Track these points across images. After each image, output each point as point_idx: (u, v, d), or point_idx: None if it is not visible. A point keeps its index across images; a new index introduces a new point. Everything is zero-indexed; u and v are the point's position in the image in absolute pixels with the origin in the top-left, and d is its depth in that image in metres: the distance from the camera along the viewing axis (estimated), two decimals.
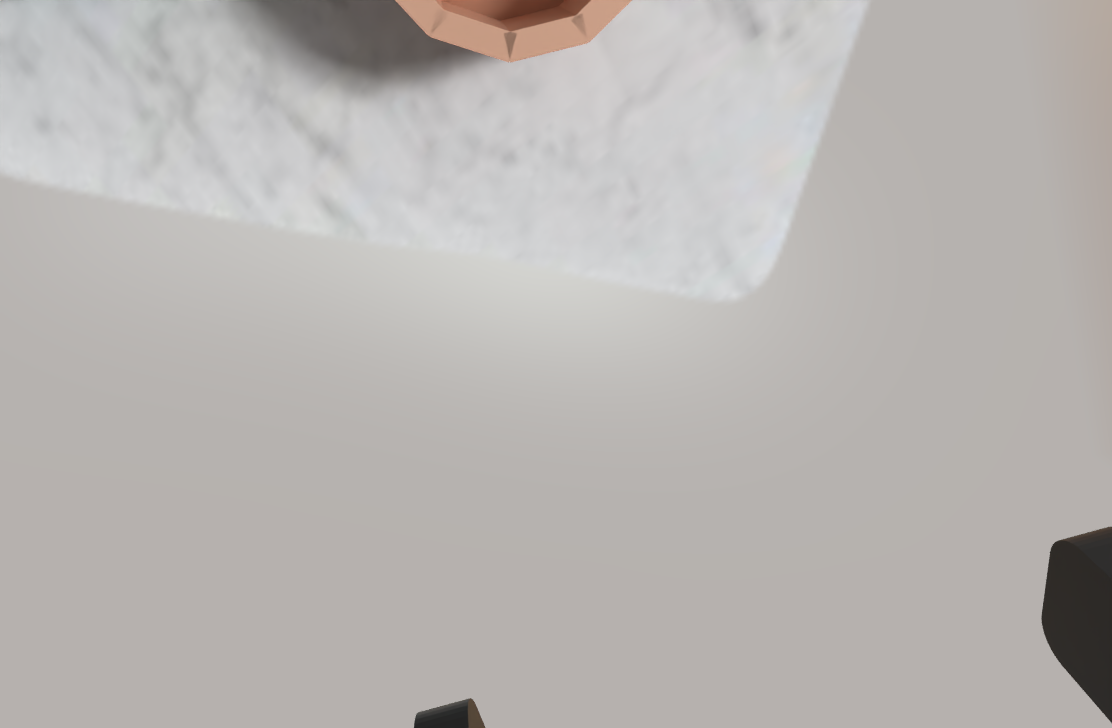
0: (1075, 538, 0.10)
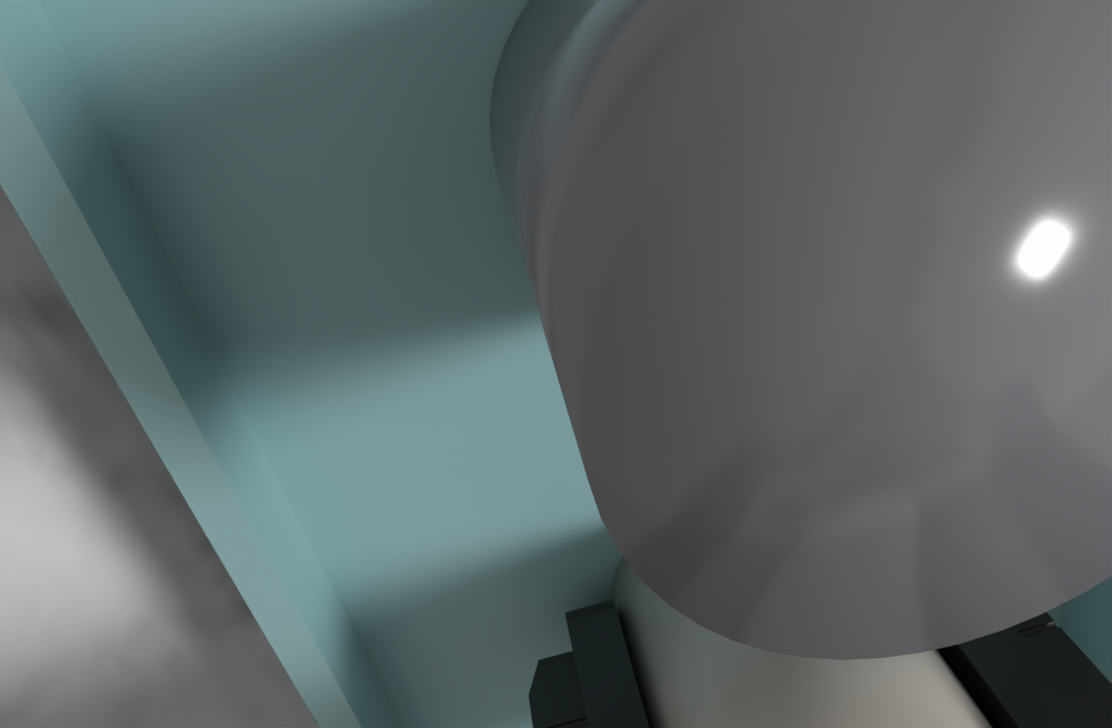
0: None
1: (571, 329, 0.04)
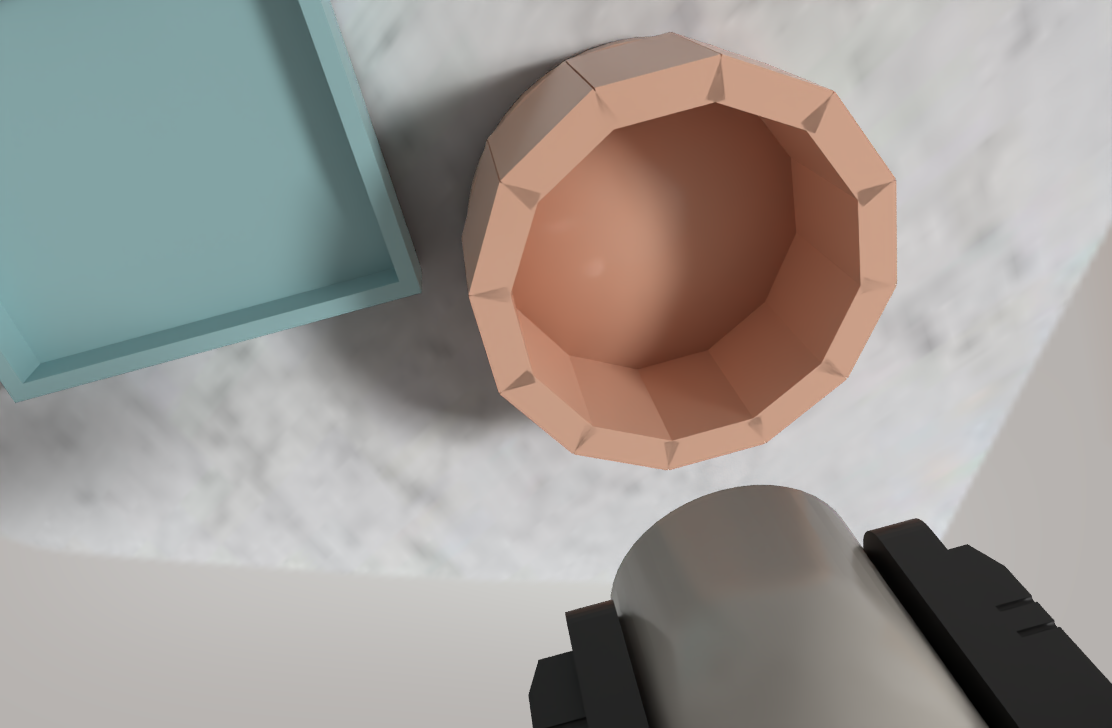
0: (879, 529, 0.11)
1: None
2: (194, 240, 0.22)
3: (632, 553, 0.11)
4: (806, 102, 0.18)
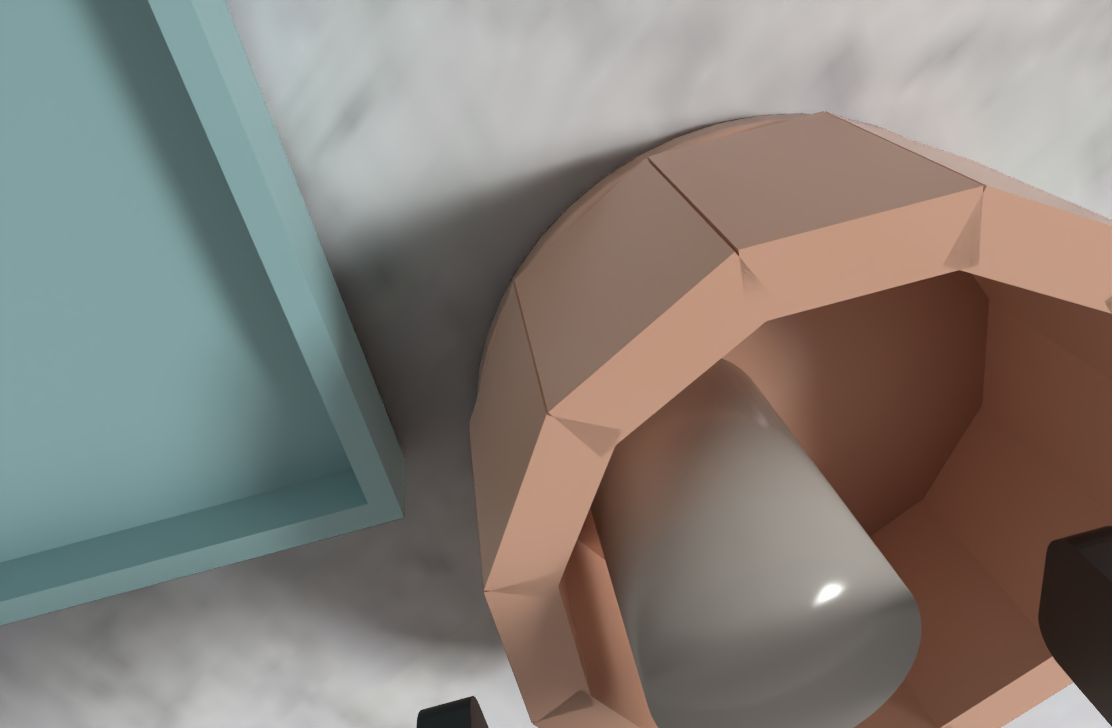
0: (1071, 538, 0.10)
1: None
2: (34, 436, 0.14)
3: None
4: None
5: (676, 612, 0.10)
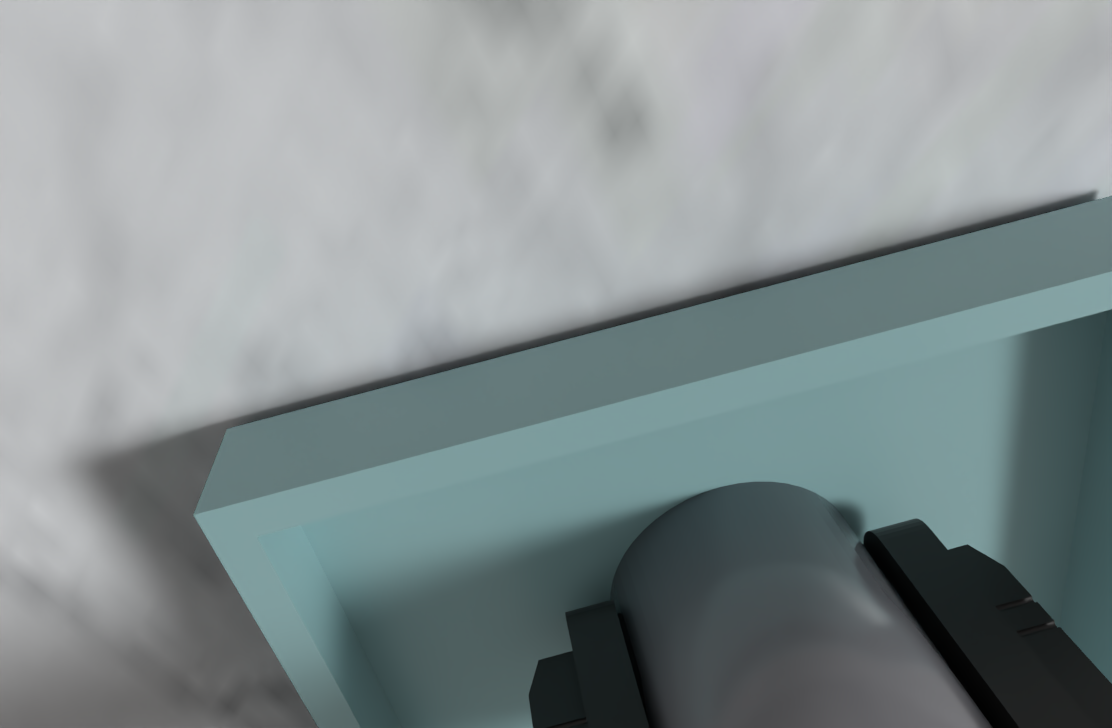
0: (879, 529, 0.11)
1: None
2: None
3: None
4: None
5: None
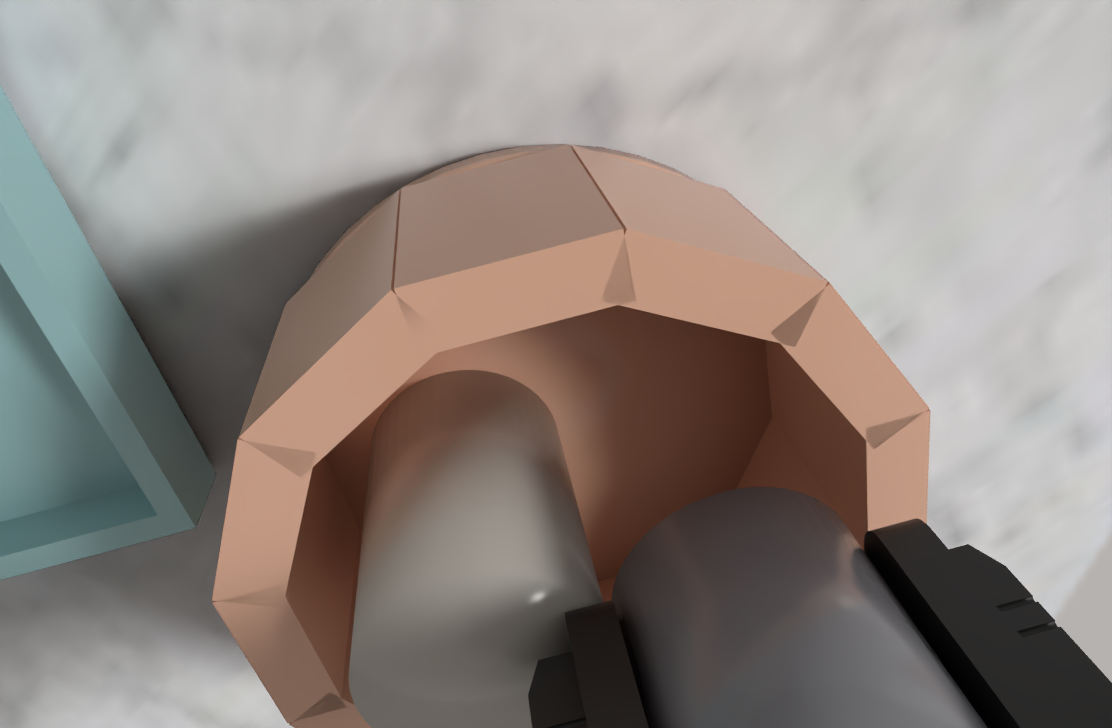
0: (880, 529, 0.11)
1: None
2: None
3: (381, 416, 0.15)
4: (780, 301, 0.11)
5: (371, 619, 0.11)
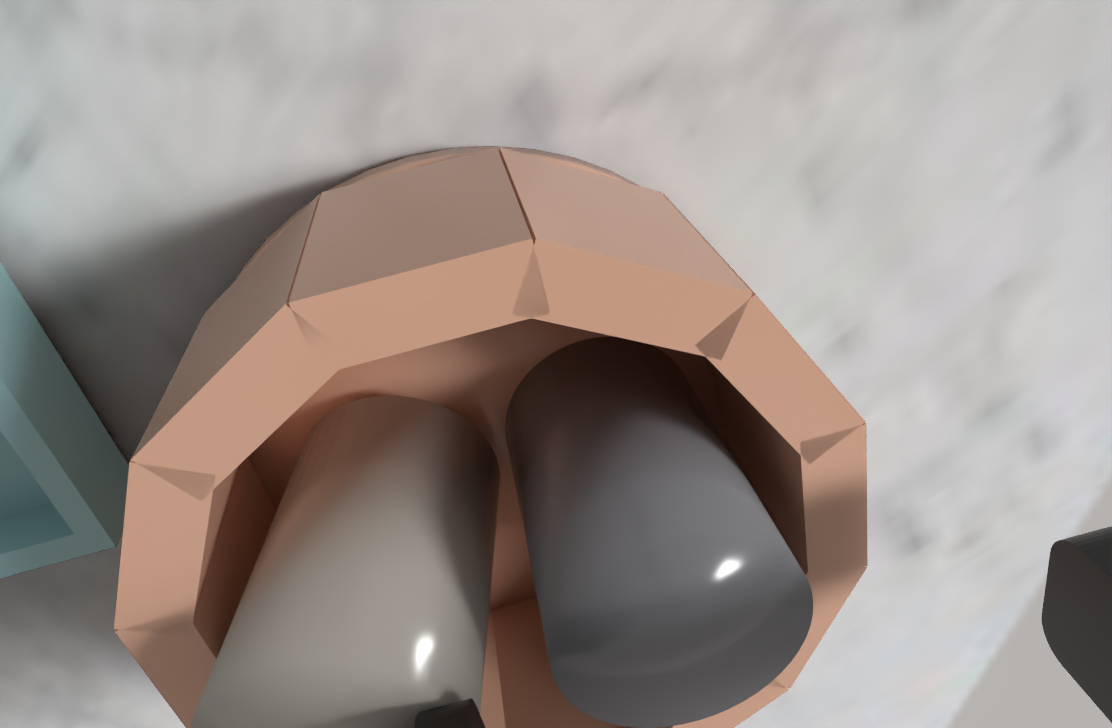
0: (1075, 538, 0.10)
1: (547, 627, 0.11)
2: None
3: (308, 434, 0.15)
4: (703, 312, 0.10)
5: (208, 691, 0.10)
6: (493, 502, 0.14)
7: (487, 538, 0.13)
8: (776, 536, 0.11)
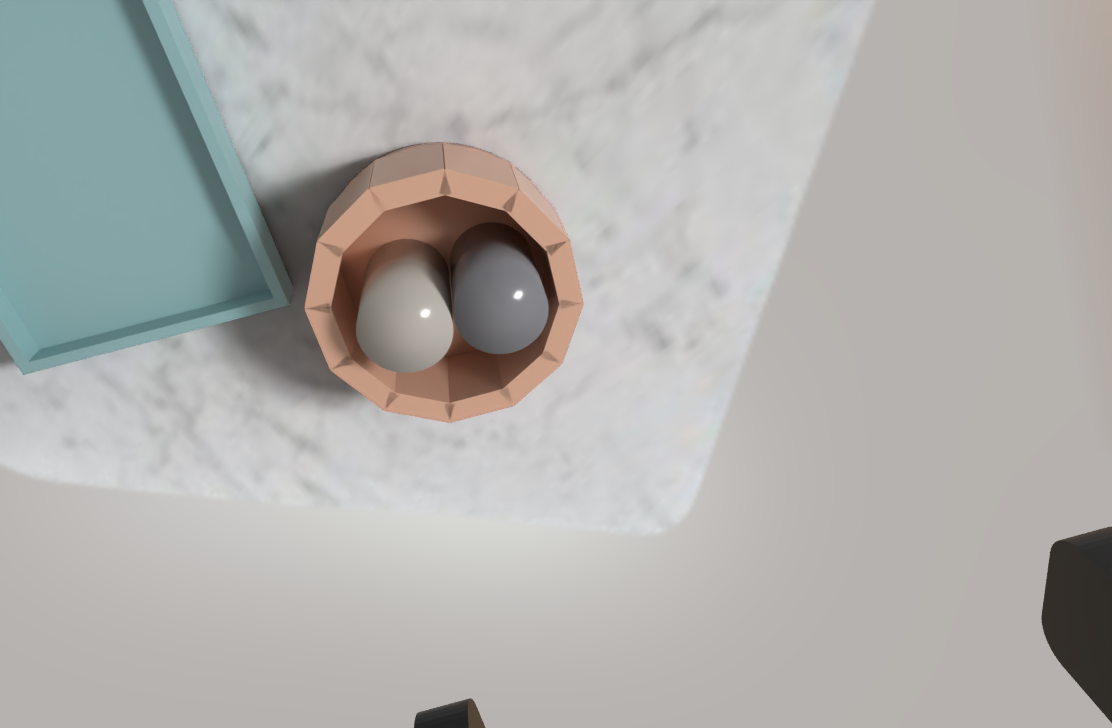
0: (1075, 538, 0.10)
1: (453, 306, 0.32)
2: (140, 270, 0.35)
3: (370, 259, 0.36)
4: (502, 195, 0.31)
5: (363, 304, 0.31)
6: (448, 277, 0.35)
7: (448, 283, 0.34)
8: (532, 274, 0.32)
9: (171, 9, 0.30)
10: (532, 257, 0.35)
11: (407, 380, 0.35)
